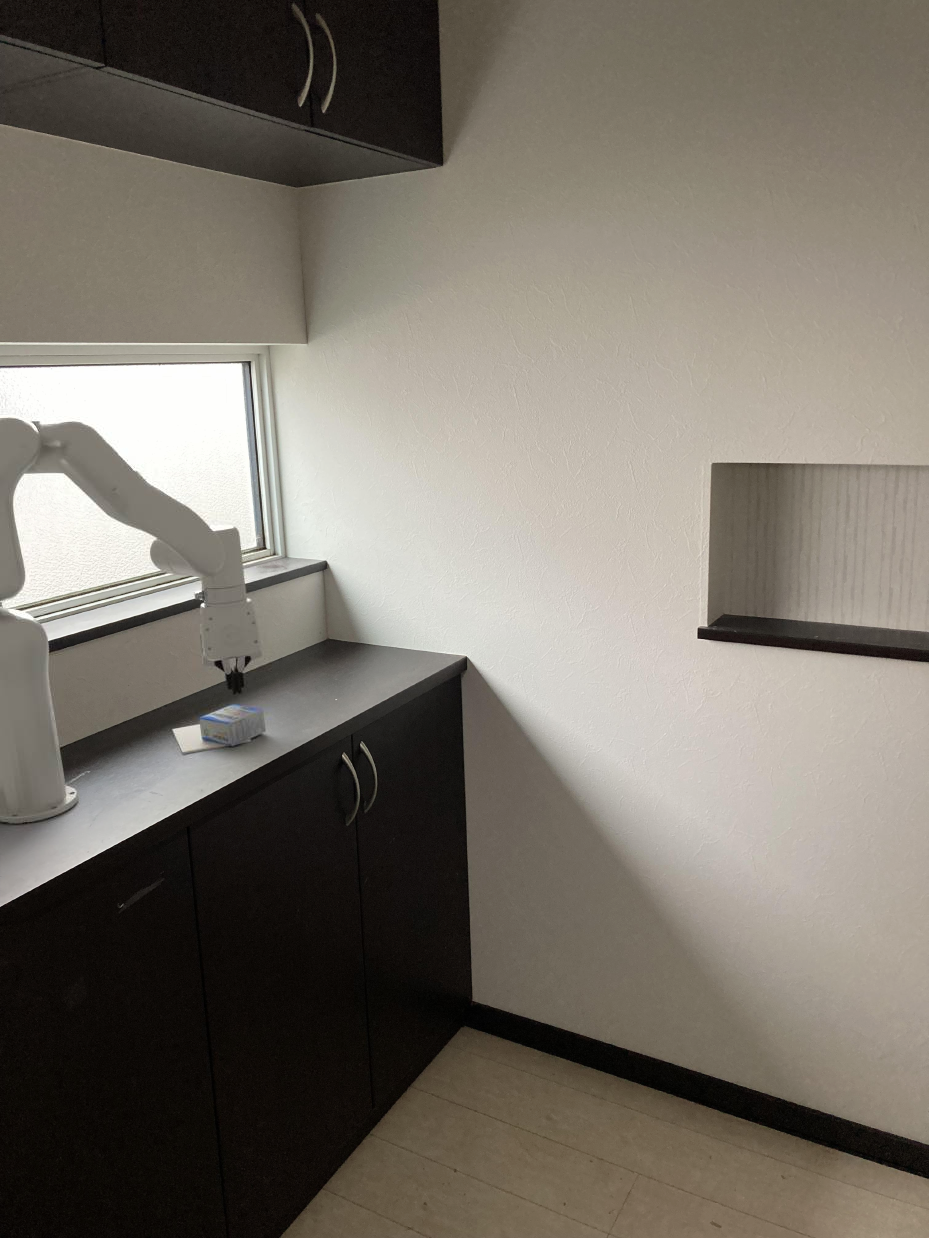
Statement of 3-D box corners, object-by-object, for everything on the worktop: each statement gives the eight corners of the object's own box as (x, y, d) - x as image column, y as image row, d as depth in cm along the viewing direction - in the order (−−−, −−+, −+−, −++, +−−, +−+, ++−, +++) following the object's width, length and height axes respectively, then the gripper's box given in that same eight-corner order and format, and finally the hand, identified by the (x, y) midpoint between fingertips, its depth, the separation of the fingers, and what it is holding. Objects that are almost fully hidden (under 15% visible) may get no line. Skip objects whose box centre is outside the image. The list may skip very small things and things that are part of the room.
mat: (182, 754, 179) (182, 752, 179) (172, 731, 191) (172, 729, 191) (251, 741, 183) (250, 739, 183) (236, 719, 196) (236, 717, 196)
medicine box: (264, 708, 185) (229, 722, 178) (266, 732, 186) (231, 747, 179) (233, 703, 190) (198, 717, 183) (236, 726, 191) (200, 740, 184)
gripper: (185, 604, 177) (197, 704, 181) (270, 592, 182) (280, 690, 187) (179, 596, 184) (191, 693, 188) (261, 585, 189) (272, 680, 193)
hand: (236, 692), depth 187 cm, fingers closed
